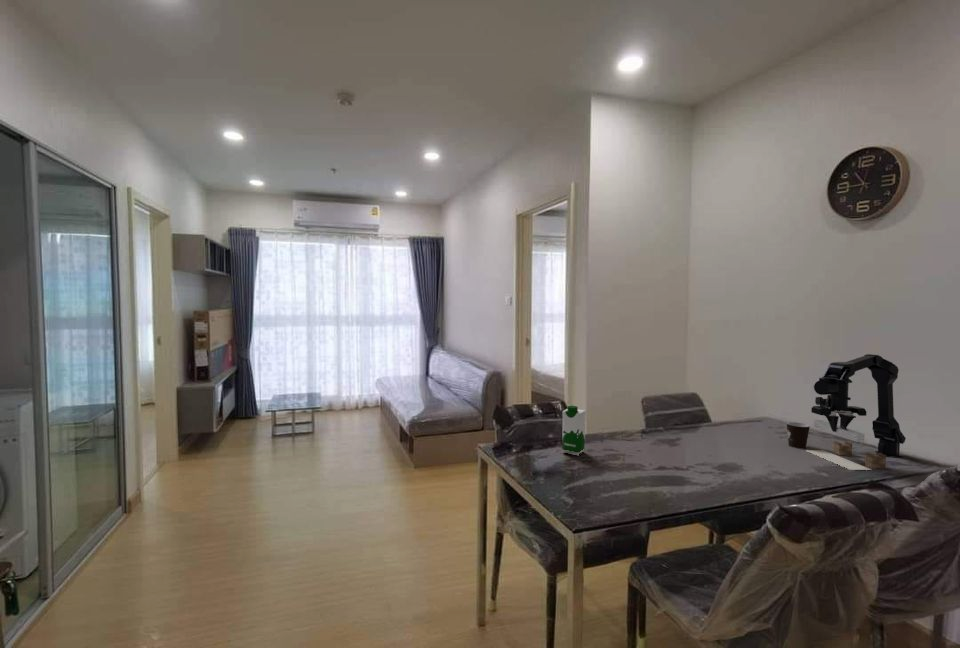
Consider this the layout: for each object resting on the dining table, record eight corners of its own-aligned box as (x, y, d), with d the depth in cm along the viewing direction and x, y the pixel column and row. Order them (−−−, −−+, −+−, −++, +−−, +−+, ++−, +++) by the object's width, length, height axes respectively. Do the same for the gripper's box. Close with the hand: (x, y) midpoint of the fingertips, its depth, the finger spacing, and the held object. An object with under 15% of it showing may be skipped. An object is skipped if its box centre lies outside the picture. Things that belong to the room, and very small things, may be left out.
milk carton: (559, 453, 191) (560, 406, 190) (567, 448, 199) (568, 402, 198) (579, 457, 186) (580, 409, 186) (587, 452, 194) (588, 405, 193)
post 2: (878, 465, 181) (879, 452, 181) (885, 468, 178) (886, 455, 178) (865, 465, 181) (865, 452, 181) (871, 468, 178) (872, 455, 178)
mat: (823, 451, 200) (823, 450, 200) (871, 470, 176) (871, 469, 176) (805, 451, 200) (805, 450, 200) (850, 470, 176) (850, 469, 176)
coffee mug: (808, 450, 200) (809, 427, 200) (785, 446, 206) (785, 424, 205) (809, 444, 210) (810, 422, 209) (786, 441, 215) (787, 419, 215)
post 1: (846, 453, 197) (846, 441, 197) (851, 455, 194) (852, 443, 194) (833, 453, 197) (833, 441, 197) (839, 455, 194) (839, 443, 194)
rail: (821, 426, 198) (821, 420, 198) (864, 441, 176) (864, 434, 176) (814, 426, 198) (814, 420, 198) (856, 441, 176) (856, 433, 176)
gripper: (845, 390, 195) (844, 426, 196) (802, 390, 195) (801, 426, 195) (868, 395, 184) (866, 433, 184) (822, 395, 184) (820, 433, 184)
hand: (837, 431), depth 187 cm, fingers closed on rail, 3 cm apart
